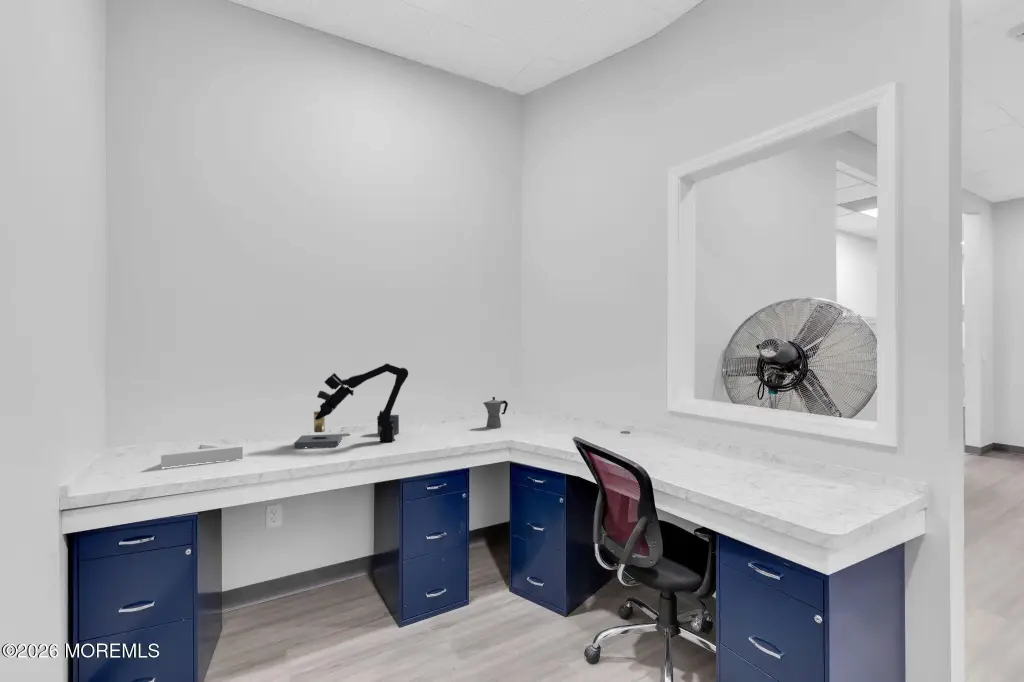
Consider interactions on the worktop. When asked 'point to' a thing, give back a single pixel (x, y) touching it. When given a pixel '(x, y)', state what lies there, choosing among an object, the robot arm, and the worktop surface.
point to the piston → (319, 423)
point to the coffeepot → (494, 412)
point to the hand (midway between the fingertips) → (316, 418)
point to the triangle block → (201, 454)
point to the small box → (395, 421)
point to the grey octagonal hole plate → (318, 441)
